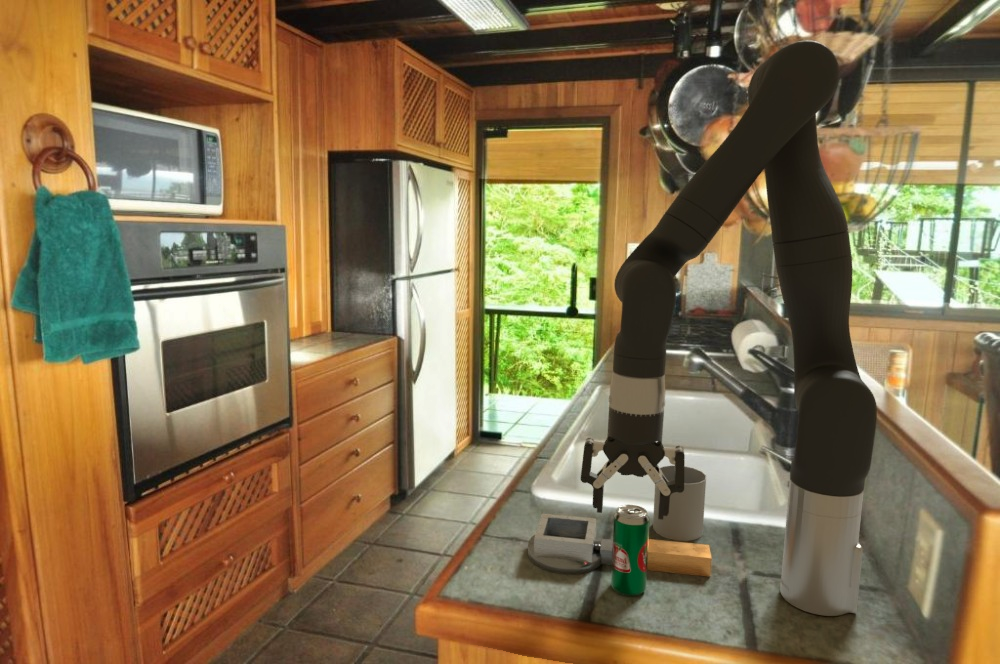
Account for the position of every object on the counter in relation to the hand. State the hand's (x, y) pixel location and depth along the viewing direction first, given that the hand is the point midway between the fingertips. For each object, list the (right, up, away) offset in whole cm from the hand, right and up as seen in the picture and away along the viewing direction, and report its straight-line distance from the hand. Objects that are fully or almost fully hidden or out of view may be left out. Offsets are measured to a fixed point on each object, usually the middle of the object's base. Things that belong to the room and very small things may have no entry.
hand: (629, 513), depth 97 cm
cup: (+12, -8, +20) cm, 25 cm away
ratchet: (0, -10, +10) cm, 14 cm away
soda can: (0, -11, +2) cm, 12 cm away
